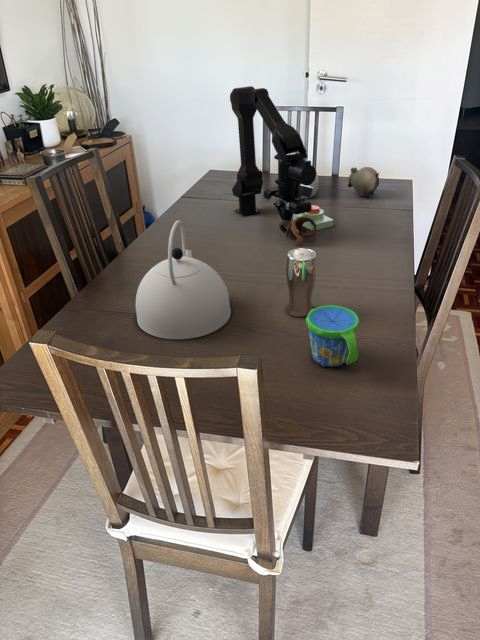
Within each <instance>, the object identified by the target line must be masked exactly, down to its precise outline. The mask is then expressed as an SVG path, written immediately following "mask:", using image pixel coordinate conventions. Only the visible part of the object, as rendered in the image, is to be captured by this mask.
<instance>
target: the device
mask: <svg viewBox="0 0 480 640" xmlns="http://www.w3.org/2000/svg"><path fill="white" fill-rule="evenodd" d="M305 160H308V158H305ZM319 183H320V181H319V177H318V172H317V171H316V178H315V180H314V182H313V183H312V184H311V185H308V186H310V187H312V188H313V191H312V194H311V197H310V198H312V197H314V196H315V195H316V194H317V192H318V190H319V187H320V186H319V185H320V184H319ZM300 199H305V200H306V199H309V198H308V197H306V196H301V198H300Z"/></svg>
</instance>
